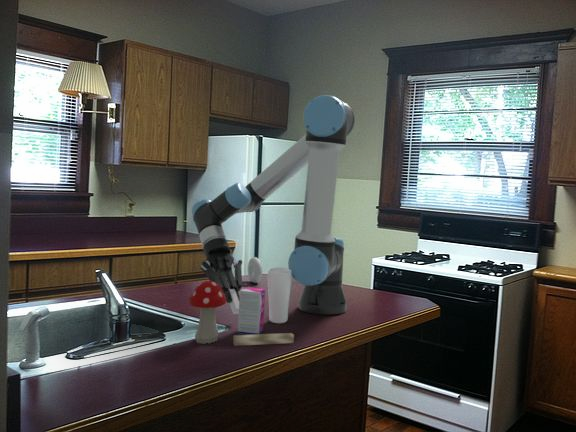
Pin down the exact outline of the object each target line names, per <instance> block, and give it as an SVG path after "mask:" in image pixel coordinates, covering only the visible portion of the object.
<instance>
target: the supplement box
mask: <svg viewBox="0 0 576 432" xmlns="http://www.w3.org/2000/svg"><path fill="white" fill-rule="evenodd" d="M239 296H240V299H239V313H238V319H237V334H238V333H239V334H238V335H254V334H261V332H262V331H264V320H265V319H264V318H265V316H264V315H265V303H266V302H265V301H266V288H259V287H258V288H257V287H250V286H249V287H248V286H246V287H244V288H241V289H240V291H239Z"/></svg>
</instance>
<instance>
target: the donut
mask: <svg viewBox="0 0 576 432" xmlns="http://www.w3.org/2000/svg"><path fill="white" fill-rule="evenodd" d="M247 274H248V279H249V280H250V282H252V283H253V284H257V283H259V282H260V281H261V279H262V276H263V266H262V261H261V259H259V258H258V257H256V256H254V257H253V256H252V257H251V258H250V259H249V260H248V263H247Z"/></svg>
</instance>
